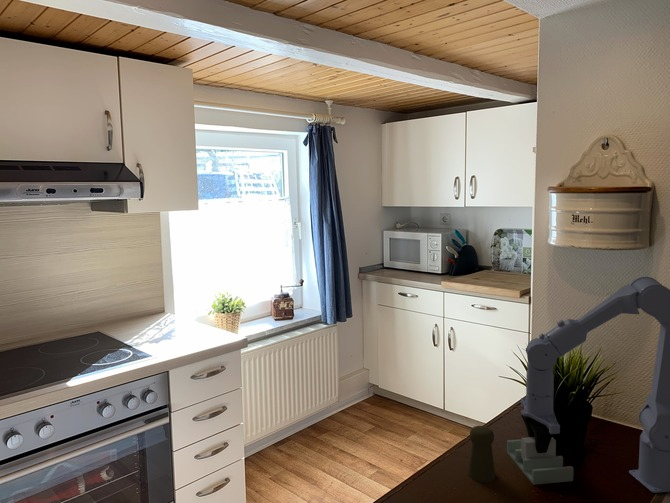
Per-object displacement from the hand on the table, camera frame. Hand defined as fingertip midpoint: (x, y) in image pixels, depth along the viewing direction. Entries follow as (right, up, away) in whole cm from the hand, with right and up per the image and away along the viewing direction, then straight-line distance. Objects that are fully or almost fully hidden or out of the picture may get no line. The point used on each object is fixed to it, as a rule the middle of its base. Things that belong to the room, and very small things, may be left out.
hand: (538, 448), depth 119 cm
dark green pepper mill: (-14, -5, -2) cm, 15 cm away
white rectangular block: (0, -3, 0) cm, 3 cm away
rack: (0, -4, +1) cm, 4 cm away
